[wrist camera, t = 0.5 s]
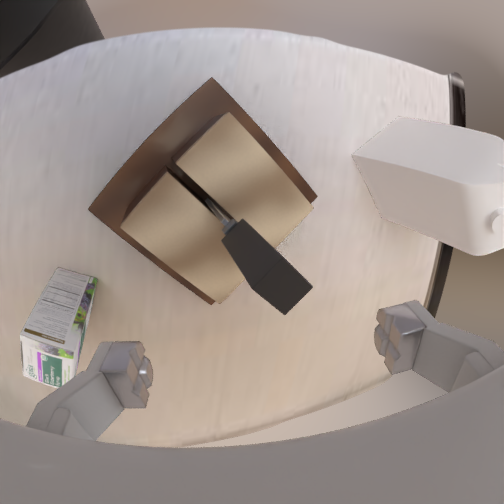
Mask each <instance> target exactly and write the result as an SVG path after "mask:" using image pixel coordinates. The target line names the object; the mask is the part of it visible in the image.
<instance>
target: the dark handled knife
mask: <svg viewBox="0 0 504 504" xmlns="http://www.w3.org/2000/svg"><path fill="white" fill-rule="evenodd" d="M205 202H206V203H207V205H208V206H209V207H210V209H211V210H212V211H213V212H214V214H215V215H216V216H217V218H218V219H219V220H220V222H221V223H222V224H223V225H224V226H225V227H224V228H223V229H222V232H223V233H224V234H225V235H226V236H225V237H224V238H223V239H222V240H221V242H222V243H223V245H224V246H225V248H226V249H227V251H228V253H229V254H230V256H231V257H232V259H233V260H234V262H235V263H236V265H237V266H238V268H239V270H240V271H241V273H242V274H243V276H244V277H245V279H246V280H247V282H248V283H249V285H250V286H251V288H252V289H253V290H254V291H255V292H256V293H258V294H259V295H260V296H261V297H263V298H264V299H265V300H266V301H268V302H269V303H270V304H271V305H272V306H274V307H275V308H276V309H278V310H279V311H280V312H281V313H283V314H284V315H286V314H287V313H288V312H289V311H290V310H291V309H292V308H293V307H294V306H295V305H296V304H297V303H298V302H299V301H300V300H301V299H302V298H303V297H304V296H305V295H306V294H307V293H308V292H309V291H310V290H311V289H312V288H313V286H312V285H311V284H310V283H309V282H308V281H307V280H306V279H305V278H304V277H303V276H302V275H301V274H300V273H299V272H298V271H297V270H296V269H295V268H294V267H293V266H292V265H291V264H290V263H289V262H288V261H287V260H286V259H285V258H284V257H283V256H282V255H281V254H280V253H279V252H278V251H277V250H276V249H275V248H274V247H273V246H272V245H270V244H269V243H268V242H267V241H266V240H265V239H264V238H263V237H262V236H261V235H260V234H259V233H258V232H257V231H256V230H255V229H254V228H253V227H252V226H251V225H250V224H249V223H248V222H247V221H246V220H244V219H243V218H242V219H241V220H240V221H239V222H238V223H237V222H236V221H235V220H234V219H230V218H229V217H228V216H226V215H225V214H224V213H223V212H222V211H221V210H220V209H219V208H218V207H217V206H216V205H215V204H214V203H213V202H212V201H210V200H209V199H208V198H207V199H206V200H205Z"/></svg>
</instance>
